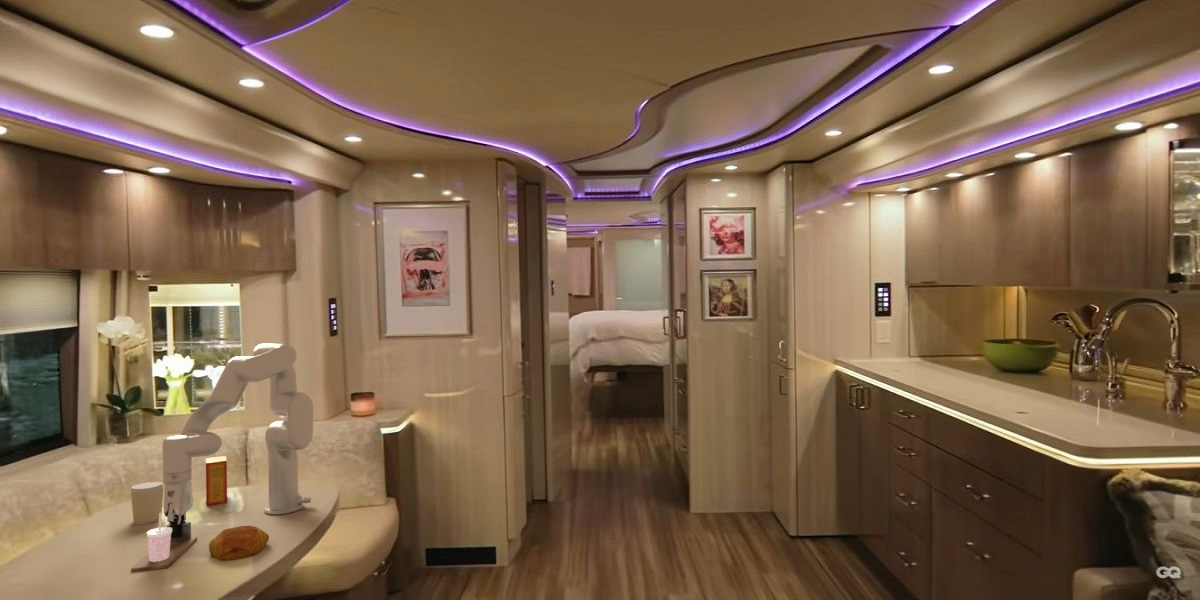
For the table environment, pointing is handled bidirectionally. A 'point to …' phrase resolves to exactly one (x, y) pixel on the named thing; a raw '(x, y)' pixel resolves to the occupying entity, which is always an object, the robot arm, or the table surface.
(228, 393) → the robot arm
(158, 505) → the coffee cup
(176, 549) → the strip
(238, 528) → the croissant
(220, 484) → the baking soda box
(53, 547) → the table surface
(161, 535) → the beverage cup
